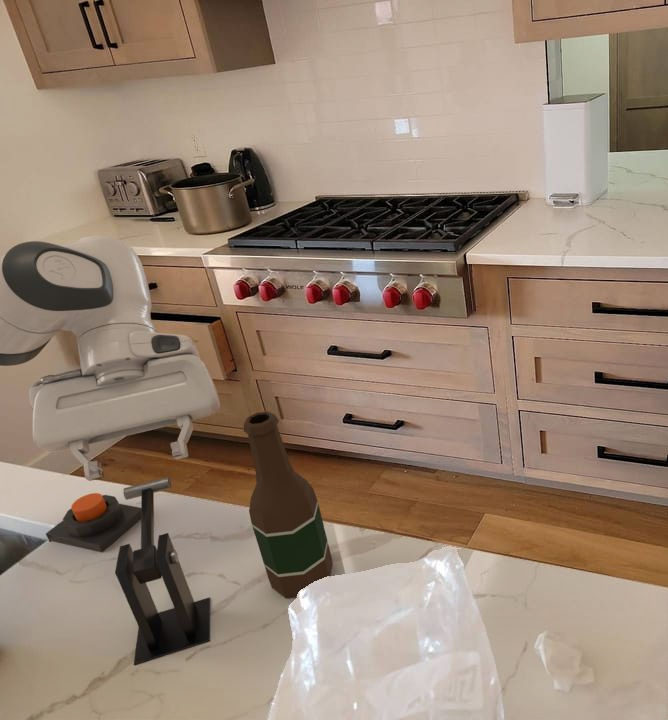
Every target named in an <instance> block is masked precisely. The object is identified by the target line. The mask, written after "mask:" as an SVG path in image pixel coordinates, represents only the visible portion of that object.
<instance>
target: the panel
mask: <svg viewBox="0 0 668 720" xmlns="http://www.w3.org/2000/svg"><path fill="white" fill-rule="evenodd" d="M101 495H102V496H103V498H104V500H105V503H106V505H107V510H106V511H105V512H104V513H103V514H101V515H100V516H99V517H96V518H94V519H92V520H88V521H83V522H79V521H77V520H76V518H75V515H74V513H73V511H72V509H71V508H69V509H68V510H67V511H66V513H65V514H64V516H63V518H62V521H60V522H59V523H58V524H56V525H55V526H54V527H52V528H51V529H49V530H48V531H47V532H46V533H45V535H46V538H47V540H48V542H49V543H51V542H54V543H57V544H61V545H62V544H63V545H66V546H71V547H76V548H80V549H84V550H89V551H93V552H98V553H104V552H105V551H106V550H107V549H108V548H109V547H111V546H112V545H113V544H114V543H115V542H117V541H118V540H119V539H120V538H121V537H122V536H124V534H126V533H127V532H128V531H129V530H130V529H131V528H133V527H134V526H135V525H136V524H138V522H141V507H138V506H133V505H128V504H123V503H119V501H118V499H117V497H116V496H113V495H108V494H101Z"/></svg>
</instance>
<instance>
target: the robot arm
mask: <svg viewBox="0 0 668 720" xmlns="http://www.w3.org/2000/svg"><path fill="white" fill-rule="evenodd" d="M152 307H153V304H152V298H151V292H150V287H149V282H148V279H147V275H146V272H145V269H144V266H143V263H142V261H141V259H140V258H139V256H138V254H137V253H136V251H135V250H134V249H133V247H132V246H131V245H130V244H128V243H127V242H125V241H123V240H122V239H119V238H116V237H113V236H109V235H88V236H84V237H82V238H79V239H78V240H76V241H73V242H70V243H65V244H63V243H62V244H56V243H51V242H46V241H39V240H38V241H37V240H34V241H33V240H32V241H24V242H21V243H18V244H17V245H14V246H13V247H11V248H10V249H9V250H8V251H6V253H5V254H3V255H2V256H1V257H0V366H2V367H9V366H18V365H22V364H26V363H27V362H30V361H31V360H33V359H34V358H36V357H37V356H38V355H39V354H40V353H41V352H42V350H44V348H45V347H46V346H47V345H48V343H50V341H51V340H52V338H54V337H55V336H56V335H58V333H59V332H61V331H67V332H72V333H73V334H74V335H75V336H76V342H77V349H78V357H79V363H80V368H77V369H72V370H68V371H64V372H60V373H57V374H48V375H44V376H42V377H41V378H40V380H39V381H37V382H35V383H34V384H33V385H32V386H31V387H30V388H29V393H28V394H29V404H30V407H31V409H32V421H31V422H32V423H31V424H32V429H31V430H32V440H33V443H34V444H35V445H36V446H37V447H38V448H40V449H41V450H43V451H46V452H48V453H52V454H53V453H58V452H63V451H67V450H70V453H71V454H72V455H73V457H75V458H76V460H77V461H78V462H80V464H81V465H82V466H83V472H84V478H85V480H87V481H89V482H92V481H95V480H100V479H103V478H104V477H105V475H104V472H103V469H104V468H103V464H102V463H101V462H99V461H98V460H95V461H92V460H90V459H89V457H88V456H87V455H86V454H90V452H91V451H90V445H92V444H97V443H100V442H106V441H110V440H114V439H115V440H116V439H118V438H119V439H120V438H123V437H127V436H131V435H137V434H140V433H144V432H148V431H149V432H150V431H152V430H157V429H161V428H166V427H170V426H175V425H177V427H178V428H179V429H180V433H179V436H178V437H177V441H173V442H170V443H169V444H170V449H171V450H172V451H171V455H172V458H173V459H174V460H176V461H177V460H180V459H185V458H188V457H189V451H188V445H187V444H188V442H189V440H190V438H191V435H192V433H193V431H194V424H193V423H194V422H193V421H196V420H200V419H204V418H209V417H212V416H215V415H217V414H218V412H219V410H220V408H221V402H220V398H219V394H218V391H217V388H216V385H215V383H214V379H213V377H212V375H211V374H210V372H209V370H208V368H207V366H206V365H205V363H204V361H202V359H201V354H200V352H199V349H198V347H197V345H196V343H195V342H194V341H193V340H192V339H191V338H190V337H189V336H188V335H186V334H180V333H179V334H177V333H161V332H157V329H156V326H155V325H154V324H153V321H152V317H151V316H152V315H151V312H152Z"/></svg>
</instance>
